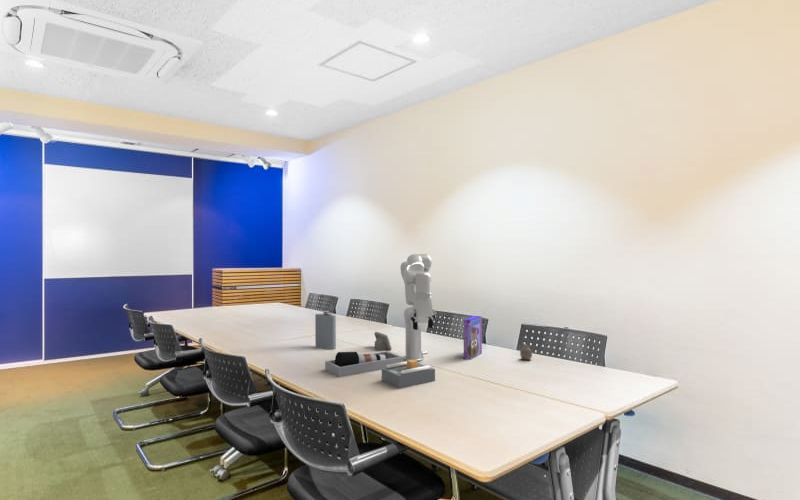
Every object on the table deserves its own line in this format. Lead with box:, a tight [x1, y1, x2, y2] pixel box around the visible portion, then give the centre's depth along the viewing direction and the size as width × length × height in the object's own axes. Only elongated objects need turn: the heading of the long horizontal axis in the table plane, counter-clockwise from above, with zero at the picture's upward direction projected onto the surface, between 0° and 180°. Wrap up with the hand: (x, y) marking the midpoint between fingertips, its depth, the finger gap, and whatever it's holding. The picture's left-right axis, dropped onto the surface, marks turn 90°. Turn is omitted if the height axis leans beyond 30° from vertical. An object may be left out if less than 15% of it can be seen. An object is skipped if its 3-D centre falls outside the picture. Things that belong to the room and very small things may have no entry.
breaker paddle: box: [407, 360, 419, 369], centre depth 230 cm, size 4×4×4 cm
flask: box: [314, 310, 337, 351], centre depth 305 cm, size 17×5×25 cm, turn 55°
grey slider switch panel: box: [381, 362, 436, 389], centre depth 229 cm, size 22×16×6 cm
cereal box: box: [463, 315, 483, 360], centre depth 280 cm, size 17×5×24 cm, turn 148°
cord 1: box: [386, 360, 407, 369], centre depth 234 cm, size 18×2×2 cm, turn 124°
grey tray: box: [324, 350, 404, 378], centre depth 253 cm, size 41×17×5 cm, turn 124°
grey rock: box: [374, 331, 393, 352], centre depth 301 cm, size 16×9×11 cm, turn 20°
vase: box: [519, 344, 533, 361], centre depth 270 cm, size 7×7×9 cm
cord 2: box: [401, 364, 432, 375], centre depth 223 cm, size 18×2×2 cm, turn 124°
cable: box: [334, 351, 390, 367], centre depth 254 cm, size 10×34×10 cm, turn 119°
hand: (423, 328), depth 235 cm, fingers open, 9 cm apart
